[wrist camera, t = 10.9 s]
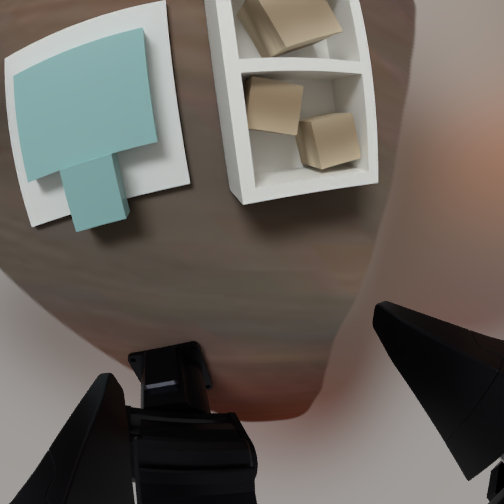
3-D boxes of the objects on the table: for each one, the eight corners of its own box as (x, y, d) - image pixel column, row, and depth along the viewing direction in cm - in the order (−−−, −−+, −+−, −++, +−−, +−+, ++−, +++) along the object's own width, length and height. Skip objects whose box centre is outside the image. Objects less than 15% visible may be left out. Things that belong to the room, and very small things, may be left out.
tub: (346, 171, 20) (378, 182, 17) (229, 189, 19) (243, 205, 15) (323, -9, 14) (351, -27, 10) (202, -13, 12) (210, -41, 9)
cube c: (313, 44, 16) (343, 31, 12) (263, 61, 15) (286, 47, 12) (287, 0, 14) (312, -22, 10) (236, 14, 14) (252, -10, 10)
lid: (170, 201, 18) (169, 208, 16) (51, 233, 16) (42, 242, 15) (144, 33, 13) (142, 25, 11) (21, 77, 11) (10, 75, 10)
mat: (190, 182, 18) (190, 183, 18) (34, 225, 16) (31, 227, 16) (165, 2, 12) (165, 0, 12) (7, 59, 10) (4, 58, 10)
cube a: (337, 152, 19) (360, 157, 17) (301, 162, 19) (321, 169, 16) (328, 113, 18) (352, 112, 15) (291, 121, 18) (310, 121, 15)
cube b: (278, 133, 18) (296, 135, 15) (234, 127, 17) (245, 127, 14) (284, 91, 17) (303, 86, 14) (240, 83, 16) (252, 76, 13)
